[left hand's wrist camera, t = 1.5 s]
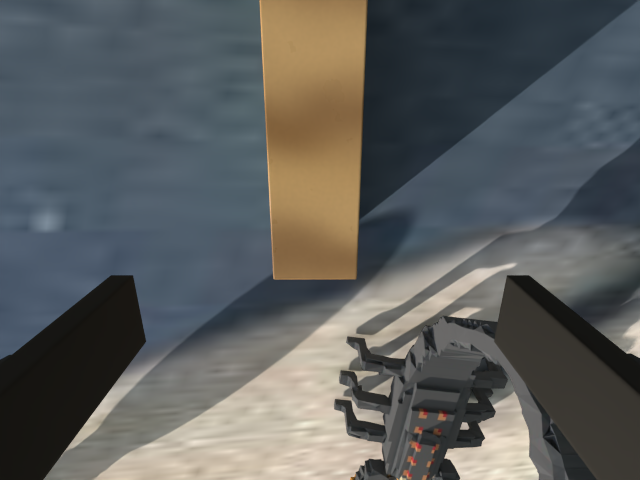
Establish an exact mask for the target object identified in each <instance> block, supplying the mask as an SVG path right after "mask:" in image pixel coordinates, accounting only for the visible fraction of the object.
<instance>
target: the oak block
mask: <svg viewBox="0 0 640 480" xmlns="http://www.w3.org/2000/svg"><path fill="white" fill-rule="evenodd" d="M367 5H368V0H260V18H261V38H262V58H263V78H264V98H265V118H266V139H267V159H268V179H269V199H270V219H271V239H272V259H273V278H274V279H356V278H357V259H358V233H359V208H360V183H361V157H362V132H363V106H364V81H365V56H366V30H367Z"/></svg>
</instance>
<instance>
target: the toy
mask: <svg viewBox="0 0 640 480" xmlns="http://www.w3.org/2000/svg"><path fill="white" fill-rule="evenodd" d="M497 324H498V322H491V321H482V320H474V319H466V318H456V317H448V316H442V317H440V319H439V322H436V324H435V323H434V324H433V326H427V325H425V327H424V328H423V330H422V332H421V333H420V335H419V337H418V339H417V341H416V343H415V345H413V346H412V347H411V349H410V350H409V352H408V354H407V356H406V358H405V359H395V358H389V357H385V356H380V355H374V354H371V353H370V351H369V350H368V348H367V346H366V342H365V339H364V338H355V337H347V341H346V343H348V344H349V345H350V346H351V347H353V348H354V349H356V350H358V354H359V359H360V364H361V368H362V369H363V370H364V371H374V372H379V375H390V376H394V378H393V381H392V384H391V393H390V395H389V397H386V396H385V395H381V394H375V393H369V392H365V391H362V385H360V386H358V382H357V376H356V374H355V373H354V372H351V371H342V370H341V372H340V377H339V382H340V384H343V385H346V386H349V387H350V388H351V390H352V400H353V401H354V402H355V403H356V405H357V407H358V408H361V409H369V410H376V411H381V412H382V413H384V415H383V420H384V424H385V425H379V424H375V423H371V422H366V421H359V420H357V419H356V417H355V415H354V412H353V409H352V403H351V401H348V400H338V399H335V402H334V409H335V410H339V411H342V412H344V414H345V422H346V430H347V433H348V435H349V436H353V437H356V438H360V439H365V440H368V441H374V442H381V443H382V453H383V458H384V461H381V459H379V460H374V459H369V460H367V461H365V465H364V466H361V465H360V468H359V471H358V472H356V474H355V477H351V479H350V480H459V479H460V477H459V475H458V473H457V471H456V469H455V467H454V465H453V464H452V462H451V461H450V460H448V459H444V457H445V455H446V452H447V449H454V448H465V447H478V446H481V445H482V441H483V440H484V439H485V437H484V435H483V433H482V431H481V429H480V427H479V425H478V423H480V422H481V421H485V420H487V419H489V418H492V417H494V415H495V412H496V411H495V409H494V408H493V406H492V404H491V403H490V401H489V399H488V398H487V397H491V396H492V394H493V392H492V390H491V388H505V385H506V383H507V382H508V381H507V380H508V379H507V378H506V376H505V375H504V374H503V372H502V370H501V367H503V368H504V369H505V371H506V372H507V374H508V375H509V377H510V379H511V381H512V384H513V386H514V389H515V393H516V395H517V396H518V399H519V402H520V405H521V408H522V414H523V417H524V419H525V421H526V424H527V426H528V429H529V438H530V449H529V457H530V458H531V460H532V462H533V463H534V465H535V467H536V468H537V470H538V473H539V480H597V479H596V478H595V477H594V475H593V474H592V473H591V471H590V470H589V468H588V467H587V466H586V464H585V463H584V462H583V460H582V459H581V458H580V456H579V455H578V454H577V452H576V451H575V450H574V448H573V447H572V446H571V444H570V443H569V442H568V440H567V439H566V438H565V436H564V435H563V434H562V432H561V431H560V430H559V428H558V427H557V426H556V424H555V423H554V421H553V420H552V419H551V417H550V416H549V415H548V413H547V412H546V411H545V409H544V408H543V407H542V405H541V404H540V403H539V401H538V400H537V399H536V397H535V396H534V395H533V393H532V392H531V391H530V389H529V388H528V387H527V385H526V384H525V383H524V381H523V380H522V379H521V377H520V376H519V375H518V373H517V372H516V370H515V369H514V368H513V366H512V365H511V364H510V362H509V361H508V360H507V358H506V357H505V356H504V354H503V353H502V352H501V350H500V349H499V348H498V346H497V345H496V344H495V342H494V339H495V334H496V329H497ZM483 358H487V359H486V363H487V366H488V368H489V370H490V371H482V372H480V371H475V370H476V368H477V366H478V367H479V366H480V363H481V360H482V359H483ZM471 387H473V389H472V391H473V392H474V394H475V396H476V398H477V400H478V403H468V400H469V397H470V394H471ZM462 422H467V423H468V426H469V430H460V427H461V424H462Z"/></svg>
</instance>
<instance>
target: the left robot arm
mask: <svg viewBox="0 0 640 480" xmlns="http://www.w3.org/2000/svg"><path fill="white" fill-rule="evenodd" d="M145 342H146V339H145V334H144V329H143V324H142V319H141V314H140V309H139V304H138V299H137V294H136V289H135V284H134V278H133V275H111V276H110V277H109V278H107V279H106V280H105V281H104V282H102V283H101V284H100V285H99V286H97V287H96V288H95V289H94V290H92V291H91V292H90V293H89V294H87V295H86V296H85V297H84V298H82V299H81V300H80V301H79V302H77V303H76V304H75V305H74V306H72V307H71V308H70V309H69V310H67V311H66V312H65V313H64V314H62V315H61V316H60V317H59V318H57V319H56V320H55V321H54V322H52V323H51V324H50V325H49V326H47V327H46V328H45V329H44V330H42V331H41V332H40V333H39V334H37V335H36V336H35V337H34V338H32V339H31V340H30V341H29V342H27V343H26V344H25V345H24V346H22V347H21V348H20V349H19V350H17V351H16V352H15V353H14V354H12V355H8V356H6V357H5V358H3V359H1V360H0V480H43V479H44V478H45V477H46V475H47V474H48V473H49V471H50V470H51V468H52V467H53V466H54V464H55V463H56V462H57V460H58V459H59V458H60V456H61V455H62V454H63V452H64V451H65V450H66V448H67V447H68V446H69V444H70V443H71V442H72V440H73V439H74V438H75V436H76V435H77V434H78V432H79V431H80V430H81V428H82V427H83V426H84V424H85V423H86V421H87V420H88V419H89V417H90V416H91V415H92V413H93V412H94V411H95V409H96V408H97V407H98V405H99V404H100V403H101V401H102V400H103V399H104V397H105V396H106V395H107V393H108V392H109V391H110V389H111V388H112V387H113V385H114V384H115V383H116V381H117V380H118V379H119V377H120V376H121V375H122V373H123V372H124V370H125V369H126V368H127V366H128V365H129V364H130V362H131V361H132V360H133V358H134V357H135V356H136V354H137V353H138V352H139V350H140V349H141V348H142V346H143V345H144V344H145ZM494 342H495V344H496V345H497V346H498V348H499V349H500V350H501V352H502V353H503V354H504V356H505V357H506V358H507V360H508V361H509V362H510V364H511V365H512V366H513V368H514V369H515V370H516V372H517V373H518V375H519V376H520V377H521V379H522V380H523V381H524V383H525V384H526V385H527V387H528V388H529V389H530V391H531V392H532V393H533V395H534V396H535V397H536V399H537V400H538V401H539V403H540V404H541V405H542V407H543V408H544V409H545V411H546V412H547V413H548V415H549V416H550V417H551V419H552V420H553V421H554V423H555V424H556V426H557V427H558V428H559V430H560V431H561V432H562V434H563V435H564V436H565V438H566V439H567V440H568V442H569V443H570V444H571V446H572V447H573V448H574V450H575V451H576V452H577V454H578V455H579V456H580V458H581V459H582V460H583V462H584V463H585V464H586V466H587V467H588V468H589V470H590V471H591V473H592V474H593V475H594V477H595V478H596V479H597V480H640V358H638V357H636V356H635V355H633V354H626V353H625V352H624V351H623V350H621V349H620V348H619V347H618V346H616V345H615V344H614V343H613V342H611V341H610V340H609V339H608V338H606V337H605V336H604V335H603V334H601V333H600V332H599V331H598V330H596V329H595V328H594V327H593V326H591V325H590V324H589V323H588V322H586V321H585V320H584V319H583V318H581V317H580V316H579V315H578V314H576V313H575V312H574V311H573V310H571V309H570V308H569V307H568V306H566V305H565V304H564V303H563V302H561V301H560V300H559V299H558V298H556V297H555V296H554V295H553V294H551V293H550V292H549V291H548V290H546V289H545V288H544V287H543V286H541V285H540V284H539V283H538V282H536V281H535V280H534V279H533V278H531V277H530V276H529V275H507V278H506V284H505V289H504V294H503V299H502V304H501V309H500V314H499V319H498V324H497V329H496V334H495V339H494Z"/></svg>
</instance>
